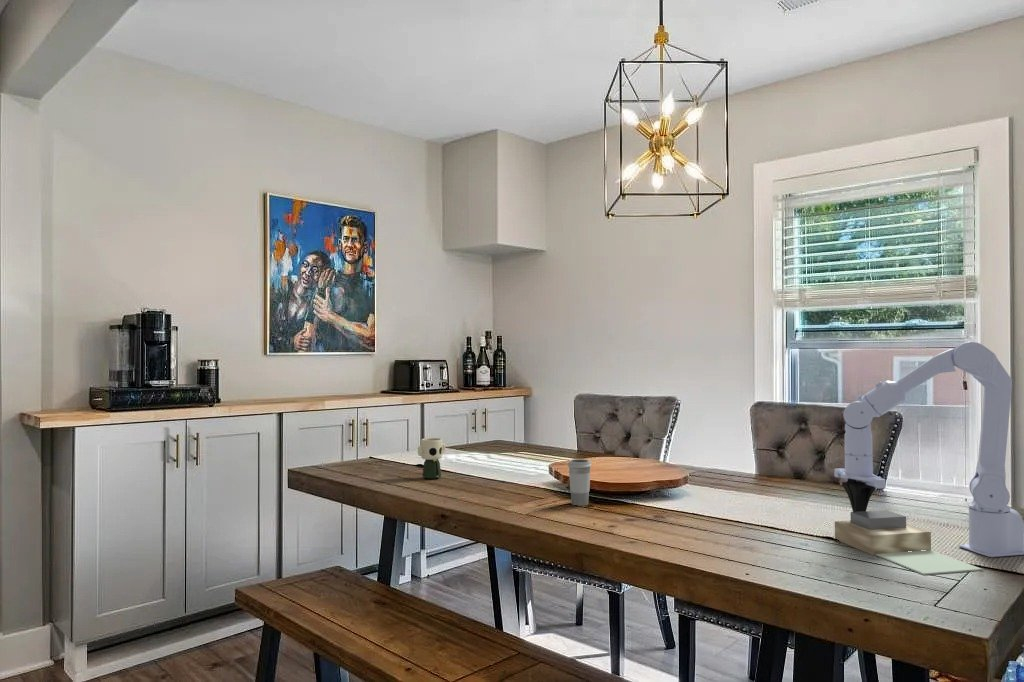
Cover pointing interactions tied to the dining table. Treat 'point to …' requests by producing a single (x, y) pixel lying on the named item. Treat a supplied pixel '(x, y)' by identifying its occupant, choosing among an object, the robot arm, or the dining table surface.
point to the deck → (883, 538)
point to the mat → (928, 562)
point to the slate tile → (878, 519)
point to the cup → (579, 481)
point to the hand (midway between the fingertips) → (859, 514)
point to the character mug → (431, 456)
